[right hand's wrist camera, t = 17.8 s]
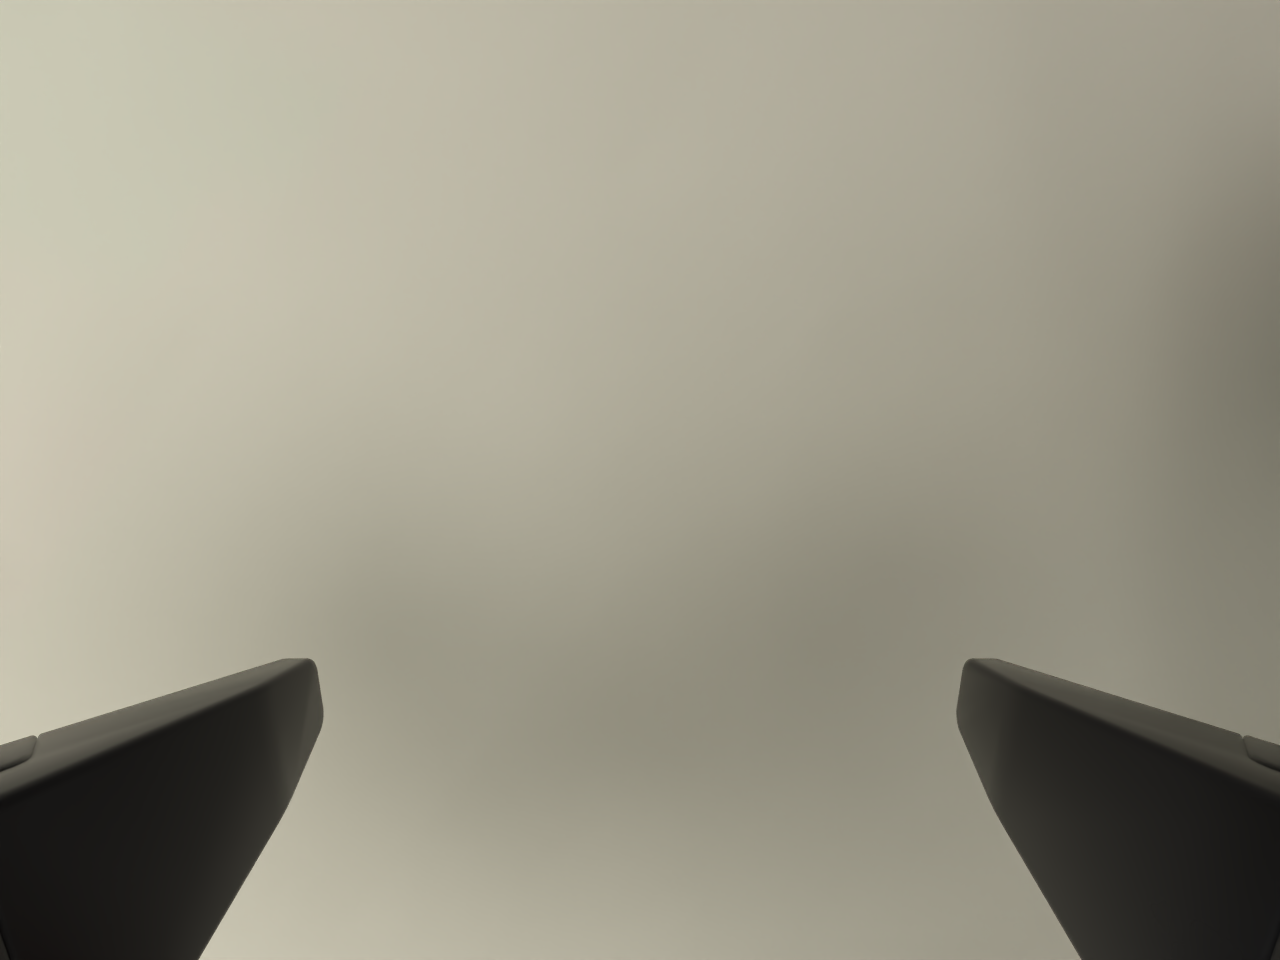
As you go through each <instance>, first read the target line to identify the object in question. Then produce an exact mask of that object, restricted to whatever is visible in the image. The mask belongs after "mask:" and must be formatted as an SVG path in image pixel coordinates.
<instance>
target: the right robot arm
mask: <svg viewBox="0 0 1280 960" xmlns="http://www.w3.org/2000/svg"><path fill="white" fill-rule="evenodd" d="M322 723H323V704H322V697H321V691H320V684H319V678H318V672H317V667H316V665H315V663H314V661H313V660H311V659H308V658H288V659H281V660H278V661H275V662H271V663H268V664H265V665H262V666H258V667H255V668H252V669H249V670H246V671H242V672H239V673H236V674H233V675H229V676H226V677H223V678H220V679H216V680H213V681H210V682H207V683H204V684H200V685H197V686H194V687H191V688H187V689H184V690H181V691H178V692H174V693H171V694H168V695H165V696H162V697H158V698H155V699H152V700H149V701H145V702H142V703H139V704H136V705H133V706H129V707H126V708H123V709H120V710H116V711H113V712H110V713H107V714H103V715H100V716H97V717H94V718H91V719H87V720H84V721H81V722H78V723H74V724H71V725H68V726H65V727H62V728H58V729H55V730H52V731H49V732H45V733H42V734H40V735H39V736H38V739H37V737H36V736H29V737H26V738H22V739H19V740H16V741H13V742H9V743H6V744H3V745H0V960H199V958H200V956H201V954H202V953H203V951H204V949H205V948H206V946H207V944H208V943H209V941H210V939H211V937H212V936H213V934H214V932H215V931H216V929H217V927H218V925H219V924H220V922H221V920H222V919H223V917H224V915H225V914H226V912H227V910H228V908H229V907H230V905H231V903H232V902H233V900H234V898H235V897H236V895H237V893H238V891H239V890H240V888H241V886H242V885H243V883H244V881H245V879H246V878H247V876H248V874H249V873H250V871H251V869H252V868H253V866H254V864H255V862H256V861H257V859H258V857H259V856H260V854H261V852H262V850H263V849H264V847H265V845H266V844H267V842H268V840H269V839H270V837H271V835H272V833H273V832H274V830H275V828H276V827H277V825H278V823H279V821H280V820H281V818H282V816H283V814H284V812H285V810H286V809H287V806H288V804H289V802H290V800H291V798H292V796H293V793H294V791H295V789H296V786H297V784H298V782H299V779H300V777H301V775H302V772H303V770H304V768H305V765H306V763H307V761H308V758H309V756H310V754H311V751H312V749H313V747H314V744H315V742H316V740H317V737H318V735H319V733H320V730H321V727H322ZM957 723H958V727H959V730H960V733H961V735H962V738H963V740H964V742H965V745H966V747H967V749H968V752H969V754H970V756H971V759H972V761H973V763H974V766H975V768H976V770H977V773H978V775H979V777H980V780H981V782H982V784H983V787H984V789H985V791H986V794H987V796H988V798H989V800H990V802H991V804H992V806H993V809H994V810H995V812H996V814H997V816H998V818H999V820H1000V821H1001V823H1002V825H1003V827H1004V828H1005V830H1006V832H1007V833H1008V835H1009V837H1010V839H1011V840H1012V842H1013V844H1014V845H1015V847H1016V849H1017V850H1018V852H1019V854H1020V856H1021V857H1022V859H1023V861H1024V862H1025V864H1026V866H1027V868H1028V869H1029V871H1030V873H1031V874H1032V876H1033V878H1034V879H1035V881H1036V883H1037V885H1038V886H1039V888H1040V890H1041V891H1042V893H1043V895H1044V897H1045V898H1046V900H1047V902H1048V903H1049V905H1050V907H1051V908H1052V910H1053V912H1054V914H1055V915H1056V917H1057V919H1058V920H1059V922H1060V924H1061V925H1062V927H1063V929H1064V931H1065V932H1066V934H1067V936H1068V937H1069V939H1070V941H1071V943H1072V944H1073V946H1074V948H1075V949H1076V951H1077V953H1078V954H1079V956H1080V958H1081V960H1280V745H1277V744H1274V743H1271V742H1267V741H1264V740H1261V739H1258V738H1254V737H1251V736H1244V737H1243V739H1242V736H1241V735H1240V734H1238V733H1235V732H1231V731H1228V730H1225V729H1222V728H1218V727H1215V726H1212V725H1209V724H1206V723H1202V722H1199V721H1196V720H1193V719H1189V718H1186V717H1183V716H1180V715H1177V714H1173V713H1170V712H1167V711H1164V710H1160V709H1157V708H1154V707H1151V706H1147V705H1144V704H1141V703H1138V702H1135V701H1131V700H1128V699H1125V698H1122V697H1118V696H1115V695H1112V694H1109V693H1105V692H1102V691H1099V690H1096V689H1093V688H1089V687H1086V686H1083V685H1080V684H1076V683H1073V682H1070V681H1067V680H1064V679H1060V678H1057V677H1054V676H1051V675H1047V674H1044V673H1041V672H1038V671H1034V670H1031V669H1028V668H1025V667H1022V666H1018V665H1015V664H1012V663H1009V662H1005V661H1002V660H999V659H992V658H972V659H969V660H967V661H966V663H965V665H964V667H963V672H962V678H961V684H960V691H959V697H958V704H957Z"/></svg>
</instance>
